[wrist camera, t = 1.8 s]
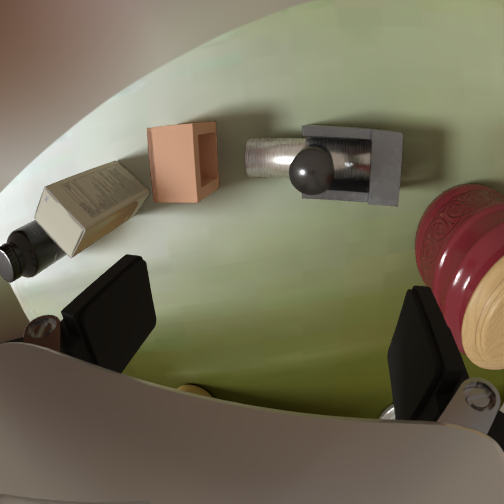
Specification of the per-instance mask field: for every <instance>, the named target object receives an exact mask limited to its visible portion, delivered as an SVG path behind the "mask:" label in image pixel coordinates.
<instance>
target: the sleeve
mask: <svg viewBox="0 0 504 504" xmlns="http://www.w3.org/2000/svg"><path fill="white" fill-rule="evenodd" d="M302 136H306V138H308V139H333V140H350V141H364V142H371V153H370V175H369V182H364V181H350V180H335V179H334V180H333V183H332V185H331V186H330V187H329V188H328V189H327V190H326V191H325V192H323V193H321V194H318V195H307V194H304V193H302V198H307V199H326V200H342V201H357V202H368V204H372V205H385V206H396V207H398V200H399V190H400V178H401V163H402V143H403V133H401V132H396V131H391V130H384V129H374V128H361V127H347V126H329V125H303V126H302Z"/></svg>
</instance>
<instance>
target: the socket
mask: <svg viewBox="0 0 504 504" xmlns="http://www.w3.org/2000/svg"><path fill="white" fill-rule="evenodd" d="M147 138H148V151H149V162H150V172H151V182H152V191H153V200H154V202H177V203H198V202H199V201H201V200H202V199H204V198H205V197H206V196H208V195H209V194H211V193H212V192H214V191H215V190H217V189H218V188H219V171H218V152H217V131H216V121H215V122H201V123H189V124H178V125H169V126H160V127H152V128H147Z"/></svg>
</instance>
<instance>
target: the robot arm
mask: <svg viewBox="0 0 504 504" xmlns="http://www.w3.org/2000/svg"><path fill="white" fill-rule="evenodd" d="M61 313H62V316H63V320H62V321H61V322H60V320H59V319H58V317H56V316H54V315H43V316H40V317H37V318H36V319H34V320H32V321H31V322H30V323H29V324H28V325H27V326H26V328H25V331H24V337H22V338H18V339H14V340H10V341H7V342H3V343H0V504H504V413H502V412H501V411H499V410H498V409H499V406H500V402H501V401H500V395H499V393H498V391H497V389H496V388H495V387H494V386H493V385H492V384H491V383H490V382H488V381H486V380H484V379H482V378H469V376H468V373H467V371H466V368H465V365H464V362H463V360H462V357H461V355H460V352H459V349H458V347H457V344H456V342H455V339H454V337H453V335H452V332H451V330H450V328H449V327H448V326H447V323H446V321H445V319H444V316H443V314H442V312H441V310H440V307H439V305H438V303H437V301H436V299H435V296H434V294H433V292H432V290H431V288H430V287H425V286H413V288H412V290H411V289H408V291H407V293H406V296H405V300H404V303H403V306H402V310H401V313H400V316H399V320H398V323H397V326H396V329H395V332H394V335H393V338H392V341H391V344H390V347H389V350H388V365H389V372H390V379H391V387H392V395H393V404H392V405H391V406H389V407H388V408H387V409H386V410H385V411H383V413H382V414H381V415H380V417H379V419H368V418H353V417H340V416H328V415H318V414H308V413H300V412H292V411H284V410H277V409H271V408H265V407H258V406H252V405H247V404H241V403H236V402H231V401H225V400H221V399H216V398H211V397H207V396H202V395H198V394H193V393H189V392H185V391H181V390H177V389H173V388H169V387H166V386H162V385H158V384H155V383H151V382H147V381H144V380H141V379H137V378H134V377H131V376H127V375H124V374H121V373H122V371H123V370H124V369H125V367H126V366H127V364H128V363H129V362H130V360H131V359H132V357H133V356H134V355H135V353H136V352H137V351H138V349H139V348H140V346H141V345H142V344H143V342H144V341H145V339H146V338H147V337H148V335H149V334H150V333H151V331H152V330H153V329H154V327H155V325H156V315H155V309H154V304H153V299H152V294H151V288H150V282H149V276H148V270H147V264H146V262H145V261H144V260H143V259H142V257H141V256H136V255H128V254H127V255H125V256H124V257H122V258H121V259H120V260H119V261H118V262H116V263H115V264H114V265H113V266H112V267H111V268H109V269H108V270H107V271H106V272H105V273H103V274H102V275H101V276H100V277H99V278H98V279H97V280H95V281H94V282H93V283H92V284H91V285H90V286H89V287H87V288H86V289H85V290H84V291H83V292H82V293H81V294H79V295H78V296H77V297H76V298H75V299H74V300H73V301H72V302H71V303H70V304H68V305H67V306H66V307H65V308H64V309H63V310H62V311H61Z"/></svg>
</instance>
